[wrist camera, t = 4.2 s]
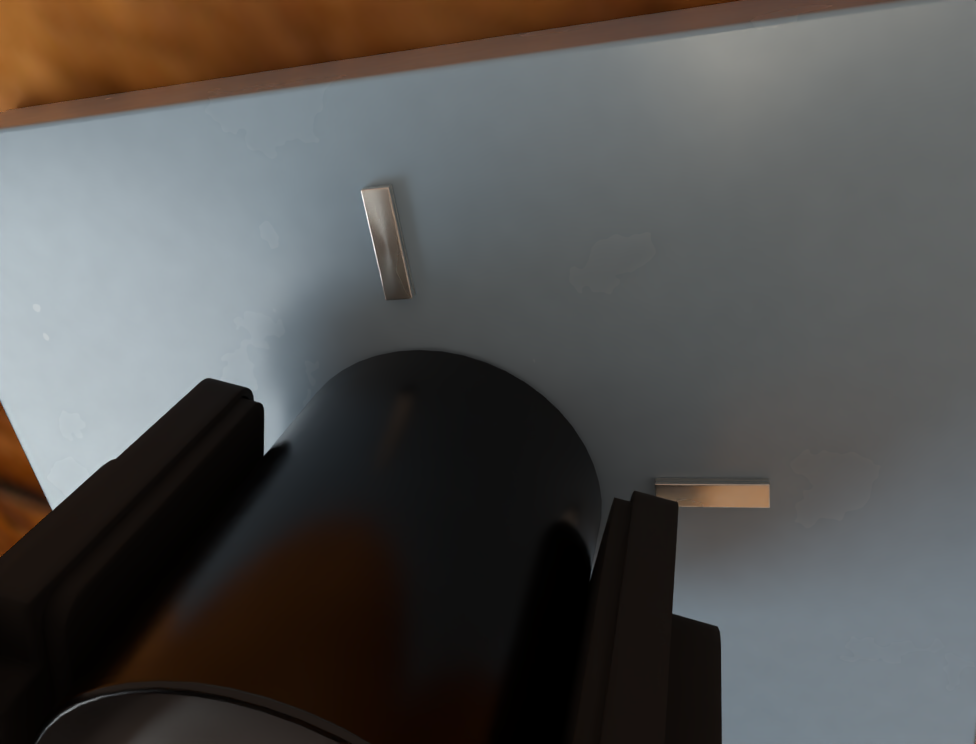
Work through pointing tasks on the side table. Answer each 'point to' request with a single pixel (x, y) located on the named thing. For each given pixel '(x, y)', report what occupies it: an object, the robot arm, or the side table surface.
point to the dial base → (578, 299)
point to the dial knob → (369, 578)
